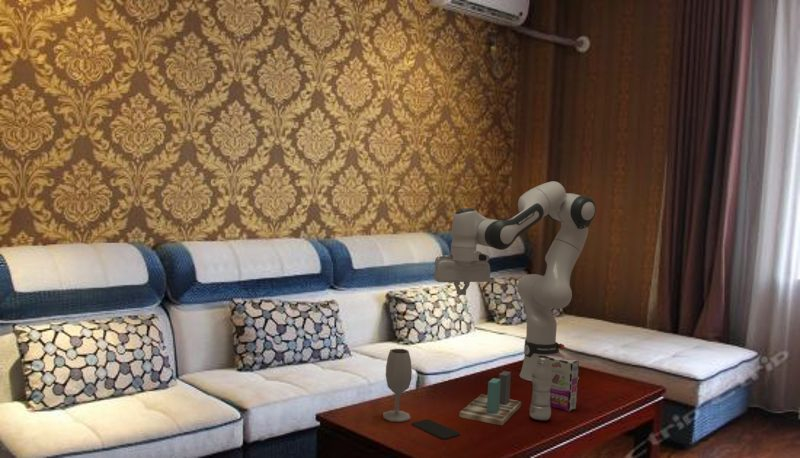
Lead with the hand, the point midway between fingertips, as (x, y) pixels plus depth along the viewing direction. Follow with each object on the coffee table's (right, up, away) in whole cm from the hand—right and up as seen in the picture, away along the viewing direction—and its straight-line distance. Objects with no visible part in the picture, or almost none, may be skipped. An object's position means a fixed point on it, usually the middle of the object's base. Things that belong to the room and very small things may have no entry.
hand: (461, 294), depth 244 cm
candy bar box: (+32, -37, -10) cm, 49 cm away
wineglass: (-22, -36, -28) cm, 51 cm away
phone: (-11, -37, -37) cm, 53 cm away
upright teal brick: (+8, -35, -24) cm, 43 cm away
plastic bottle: (+23, -37, -24) cm, 50 cm away
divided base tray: (+8, -36, -18) cm, 41 cm away
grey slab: (+13, -34, -15) cm, 39 cm away
